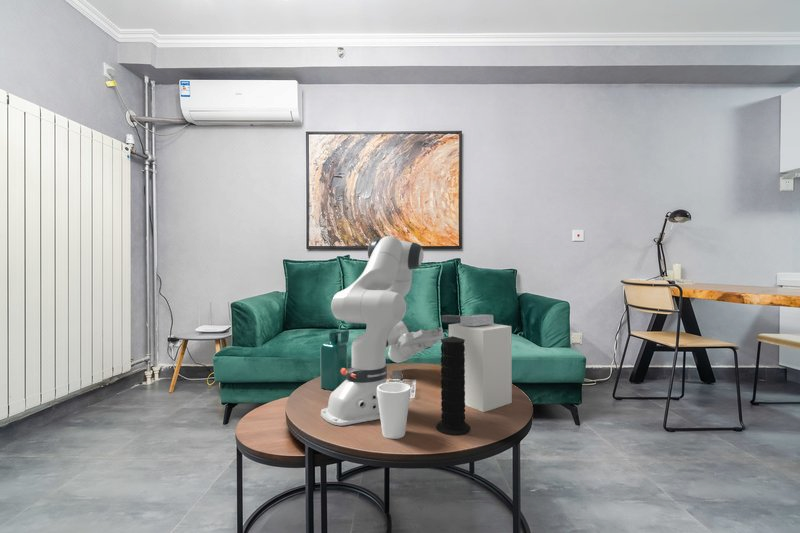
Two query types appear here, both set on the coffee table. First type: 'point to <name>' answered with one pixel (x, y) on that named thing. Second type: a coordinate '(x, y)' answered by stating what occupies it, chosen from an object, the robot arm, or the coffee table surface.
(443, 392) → the handle grip
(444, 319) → the hammer
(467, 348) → the plinth
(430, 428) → the coffee table surface
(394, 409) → the foam cup
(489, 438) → the coffee table surface
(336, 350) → the green bottle
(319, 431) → the coffee table surface
